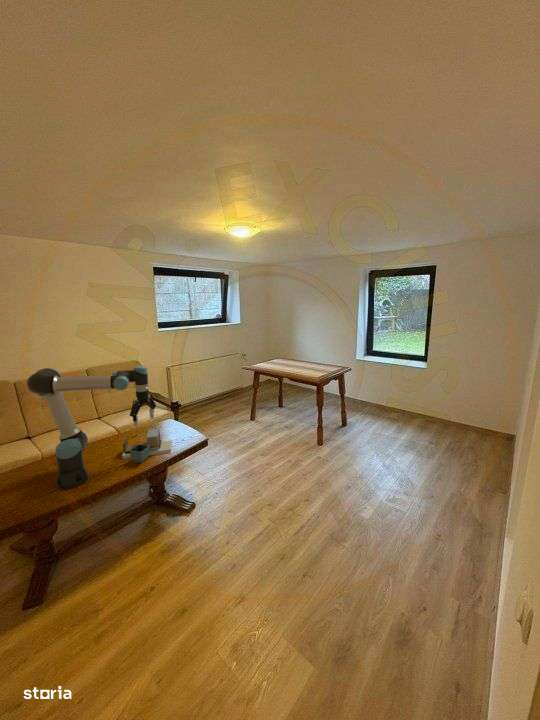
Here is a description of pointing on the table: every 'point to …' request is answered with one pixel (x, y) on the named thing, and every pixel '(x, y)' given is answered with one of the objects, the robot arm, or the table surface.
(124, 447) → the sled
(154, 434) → the tunnel
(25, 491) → the table surface
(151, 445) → the terracotta block
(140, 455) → the flower pot
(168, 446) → the board
